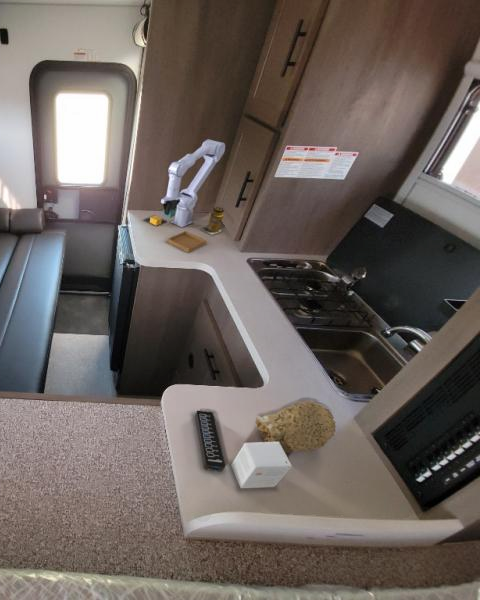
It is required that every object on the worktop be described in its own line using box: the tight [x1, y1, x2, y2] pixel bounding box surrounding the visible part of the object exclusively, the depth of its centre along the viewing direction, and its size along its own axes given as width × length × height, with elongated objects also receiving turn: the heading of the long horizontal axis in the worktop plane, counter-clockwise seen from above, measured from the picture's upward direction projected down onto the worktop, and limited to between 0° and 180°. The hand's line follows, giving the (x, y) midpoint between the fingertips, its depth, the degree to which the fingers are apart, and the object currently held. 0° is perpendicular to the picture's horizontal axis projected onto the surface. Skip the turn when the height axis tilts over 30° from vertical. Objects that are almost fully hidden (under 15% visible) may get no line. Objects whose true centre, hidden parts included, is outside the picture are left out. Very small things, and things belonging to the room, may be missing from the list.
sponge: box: [255, 400, 337, 454], centre depth 83 cm, size 13×8×20 cm
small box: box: [230, 441, 293, 489], centre depth 73 cm, size 8×6×10 cm
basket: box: [166, 230, 207, 253], centre depth 164 cm, size 14×13×2 cm
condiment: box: [200, 206, 225, 236], centre depth 173 cm, size 7×8×12 cm
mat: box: [143, 217, 167, 227], centre depth 185 cm, size 9×9×1 cm
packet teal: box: [162, 208, 176, 219], centre depth 173 cm, size 4×5×3 cm
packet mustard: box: [149, 215, 163, 226], centre depth 181 cm, size 4×5×3 cm
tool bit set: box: [194, 410, 226, 472], centre depth 82 cm, size 4×14×2 cm, turn 173°
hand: (168, 213), depth 173 cm, fingers closed on packet teal, 4 cm apart
